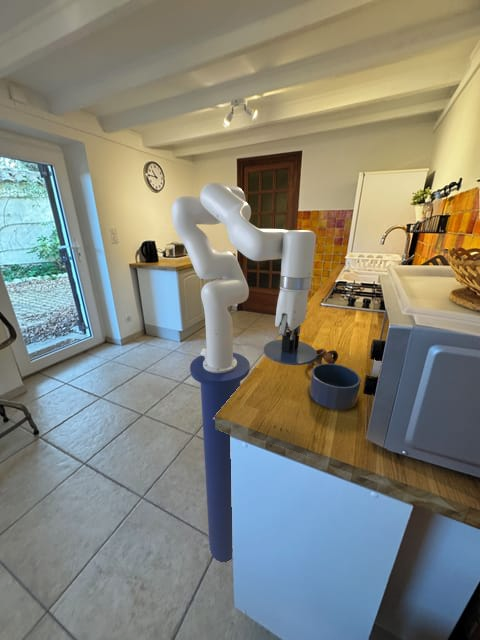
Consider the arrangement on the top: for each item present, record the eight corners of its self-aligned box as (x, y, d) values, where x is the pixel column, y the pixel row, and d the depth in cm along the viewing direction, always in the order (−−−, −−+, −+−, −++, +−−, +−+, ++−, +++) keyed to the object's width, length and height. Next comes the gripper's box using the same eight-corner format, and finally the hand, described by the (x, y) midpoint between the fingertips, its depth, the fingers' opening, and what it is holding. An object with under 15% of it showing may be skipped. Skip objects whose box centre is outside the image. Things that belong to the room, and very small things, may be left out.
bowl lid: (253, 356, 68) (254, 337, 66) (277, 339, 79) (278, 322, 77) (304, 373, 60) (307, 351, 58) (323, 351, 71) (325, 332, 69)
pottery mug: (325, 381, 83) (314, 358, 83) (307, 379, 92) (298, 358, 91) (349, 364, 88) (339, 342, 87) (330, 363, 96) (321, 344, 96)
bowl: (302, 399, 74) (305, 378, 71) (317, 378, 84) (319, 359, 82) (351, 416, 67) (355, 394, 64) (360, 391, 77) (364, 371, 75)
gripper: (294, 276, 71) (289, 337, 77) (266, 286, 58) (263, 357, 65) (320, 279, 67) (313, 343, 73) (297, 291, 54) (290, 366, 61)
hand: (289, 349), depth 69 cm, fingers closed on bowl lid, 2 cm apart
